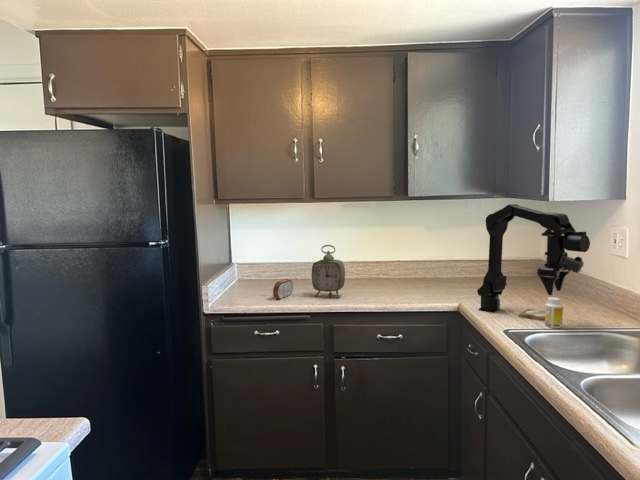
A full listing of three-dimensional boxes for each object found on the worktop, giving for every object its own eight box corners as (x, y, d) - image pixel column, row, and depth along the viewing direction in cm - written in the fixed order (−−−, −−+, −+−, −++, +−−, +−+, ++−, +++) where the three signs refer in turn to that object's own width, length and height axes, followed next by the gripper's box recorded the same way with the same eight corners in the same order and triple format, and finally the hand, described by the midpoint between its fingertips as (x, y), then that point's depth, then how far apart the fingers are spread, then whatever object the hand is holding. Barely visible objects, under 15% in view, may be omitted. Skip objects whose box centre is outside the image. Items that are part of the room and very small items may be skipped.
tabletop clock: (312, 298, 214) (310, 245, 212) (318, 294, 223) (316, 243, 221) (341, 299, 210) (340, 246, 208) (346, 295, 219) (345, 244, 216)
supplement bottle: (564, 326, 162) (565, 298, 161) (559, 329, 158) (560, 300, 157) (547, 323, 165) (548, 295, 164) (542, 326, 161) (543, 298, 160)
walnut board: (518, 316, 175) (518, 313, 175) (528, 311, 182) (528, 308, 182) (546, 321, 168) (546, 318, 168) (555, 316, 175) (555, 312, 175)
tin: (288, 294, 224) (288, 277, 224) (294, 294, 223) (293, 277, 222) (272, 300, 211) (272, 282, 210) (278, 301, 210) (277, 283, 209)
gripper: (573, 253, 147) (571, 301, 148) (589, 248, 160) (587, 291, 162) (537, 251, 154) (536, 296, 156) (555, 246, 168) (553, 287, 169)
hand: (554, 292), depth 160 cm, fingers open, 9 cm apart
